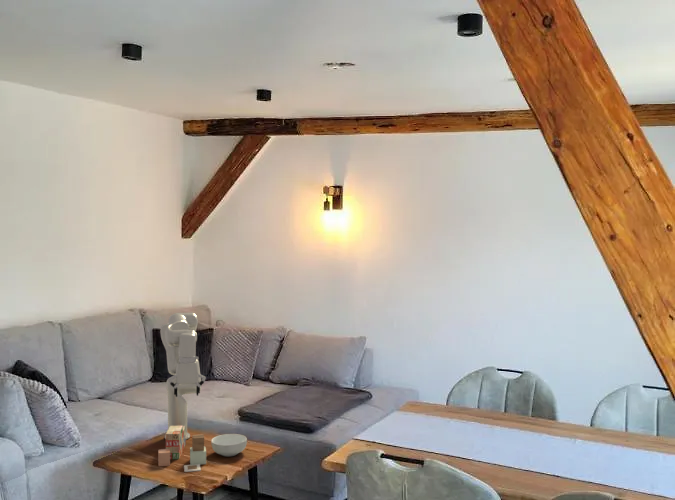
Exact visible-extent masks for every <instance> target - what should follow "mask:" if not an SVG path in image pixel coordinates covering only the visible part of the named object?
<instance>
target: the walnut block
mask: <svg viewBox="0 0 675 500" xmlns="http://www.w3.org/2000/svg"><path fill="white" fill-rule="evenodd" d="M191 445H192V449H193V451H204V446H205V435H204V433H203V434H202V433H201V434H200V433H199V434H192V444H191Z"/></svg>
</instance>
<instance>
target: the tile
mask: <svg viewBox="0 0 675 500" xmlns="http://www.w3.org/2000/svg"><path fill="white" fill-rule="evenodd" d="M183 469H184V471H183V472H184V473H188V472H201V471H202V469H201V465H200V464H195V465H190V464H185V465H183Z"/></svg>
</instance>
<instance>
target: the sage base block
mask: <svg viewBox="0 0 675 500" xmlns="http://www.w3.org/2000/svg"><path fill="white" fill-rule="evenodd" d="M189 463H190V464H189V465H195V464H200V466H201V465H207V447H206V446H205V445H204V451H193V449H192V447H189Z"/></svg>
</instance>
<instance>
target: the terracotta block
mask: <svg viewBox="0 0 675 500" xmlns="http://www.w3.org/2000/svg"><path fill="white" fill-rule="evenodd" d="M157 460H158V464H157V465H158V467H166V466H171V459H170V449H166V448H161V449H158V459H157Z"/></svg>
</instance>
